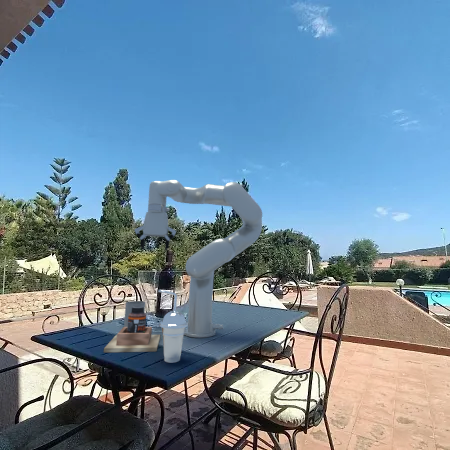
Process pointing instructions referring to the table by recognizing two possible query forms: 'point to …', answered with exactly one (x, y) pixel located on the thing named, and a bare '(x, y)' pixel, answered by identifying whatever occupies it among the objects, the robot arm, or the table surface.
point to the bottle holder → (133, 341)
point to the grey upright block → (129, 309)
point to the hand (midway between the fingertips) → (154, 249)
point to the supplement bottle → (136, 320)
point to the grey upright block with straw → (173, 332)
